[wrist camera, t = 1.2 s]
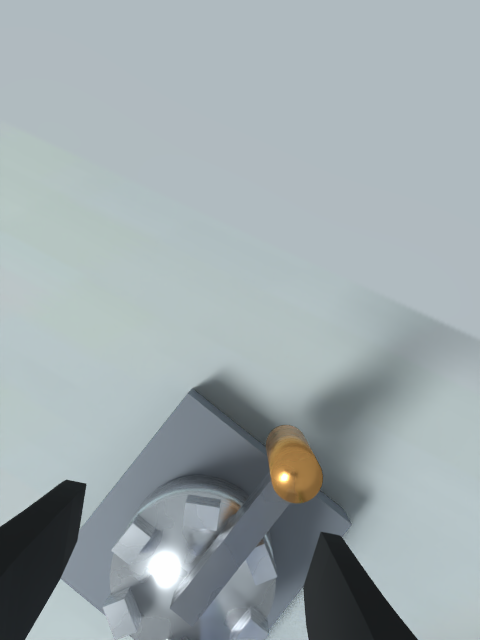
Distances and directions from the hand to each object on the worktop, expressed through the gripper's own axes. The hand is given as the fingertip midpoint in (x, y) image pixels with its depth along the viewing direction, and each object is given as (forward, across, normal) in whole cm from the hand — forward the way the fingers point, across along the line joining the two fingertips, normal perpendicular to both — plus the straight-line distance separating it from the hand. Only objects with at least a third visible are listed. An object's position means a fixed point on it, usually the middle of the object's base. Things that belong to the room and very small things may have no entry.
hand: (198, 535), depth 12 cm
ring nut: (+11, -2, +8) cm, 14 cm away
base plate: (+13, -1, +11) cm, 17 cm away
